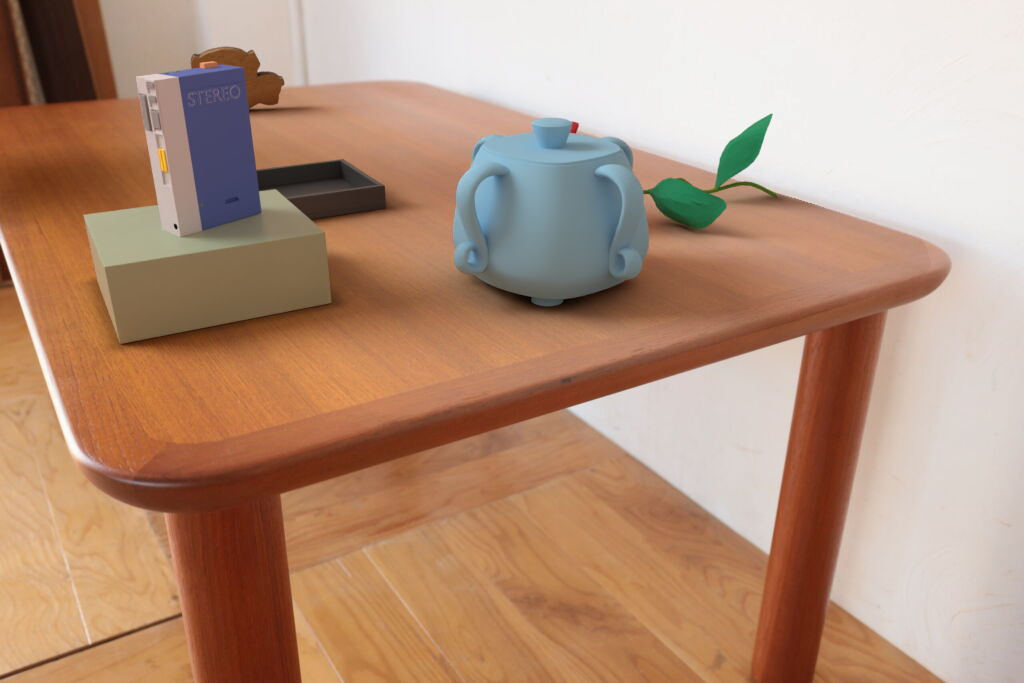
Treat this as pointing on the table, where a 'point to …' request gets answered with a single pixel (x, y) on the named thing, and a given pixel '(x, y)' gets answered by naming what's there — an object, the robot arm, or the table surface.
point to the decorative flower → (700, 205)
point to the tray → (324, 188)
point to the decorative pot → (550, 213)
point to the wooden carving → (245, 73)
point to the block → (206, 268)
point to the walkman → (200, 146)
